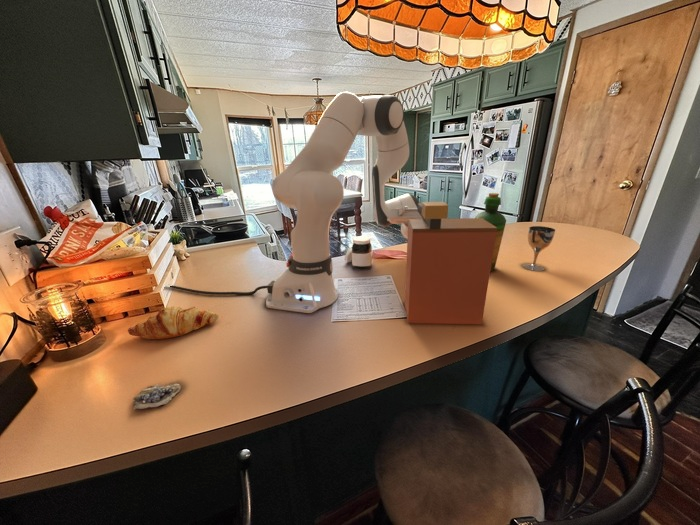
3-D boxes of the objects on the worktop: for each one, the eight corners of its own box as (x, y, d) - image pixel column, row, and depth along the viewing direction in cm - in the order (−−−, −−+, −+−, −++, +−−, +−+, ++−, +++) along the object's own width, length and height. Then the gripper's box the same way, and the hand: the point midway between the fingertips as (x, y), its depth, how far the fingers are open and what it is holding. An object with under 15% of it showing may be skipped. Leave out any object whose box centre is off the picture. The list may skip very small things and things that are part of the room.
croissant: (222, 325, 82) (218, 299, 83) (217, 328, 73) (213, 298, 73) (137, 343, 75) (134, 313, 76) (120, 348, 66) (116, 315, 66)
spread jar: (369, 271, 107) (369, 242, 103) (341, 269, 110) (340, 241, 105) (373, 260, 118) (373, 233, 114) (347, 259, 120) (346, 233, 116)
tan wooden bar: (424, 229, 64) (425, 205, 62) (413, 211, 84) (414, 192, 82) (446, 228, 64) (448, 205, 62) (430, 210, 83) (431, 192, 81)
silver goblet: (544, 273, 100) (554, 233, 95) (519, 268, 105) (527, 230, 99) (546, 266, 106) (556, 227, 101) (522, 261, 111) (530, 225, 105)
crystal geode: (134, 394, 55) (131, 387, 54) (180, 376, 59) (177, 369, 58) (133, 419, 50) (129, 411, 49) (183, 397, 54) (181, 389, 53)
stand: (407, 322, 74) (412, 228, 65) (404, 303, 84) (408, 219, 74) (481, 324, 73) (497, 227, 63) (469, 304, 82) (482, 218, 72)
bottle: (480, 275, 100) (492, 197, 90) (461, 264, 110) (470, 192, 100) (504, 271, 103) (519, 194, 92) (484, 261, 112) (495, 190, 102)
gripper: (386, 212, 106) (388, 199, 92) (441, 212, 104) (451, 198, 90) (386, 228, 105) (388, 218, 91) (442, 228, 103) (452, 217, 89)
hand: (420, 208), depth 91 cm, fingers open, 8 cm apart
